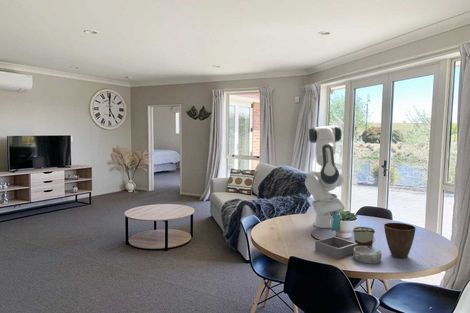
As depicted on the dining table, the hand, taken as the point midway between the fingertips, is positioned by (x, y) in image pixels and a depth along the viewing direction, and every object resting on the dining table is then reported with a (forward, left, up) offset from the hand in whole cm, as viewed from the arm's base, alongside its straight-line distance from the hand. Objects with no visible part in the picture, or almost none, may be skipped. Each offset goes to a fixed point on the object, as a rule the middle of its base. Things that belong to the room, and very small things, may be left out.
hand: (337, 219), depth 181 cm
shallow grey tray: (0, -1, -18) cm, 18 cm away
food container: (-21, +1, -18) cm, 28 cm away
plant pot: (-21, +23, -18) cm, 36 cm away
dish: (-3, +16, -18) cm, 25 cm away
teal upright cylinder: (0, -1, -6) cm, 6 cm away
